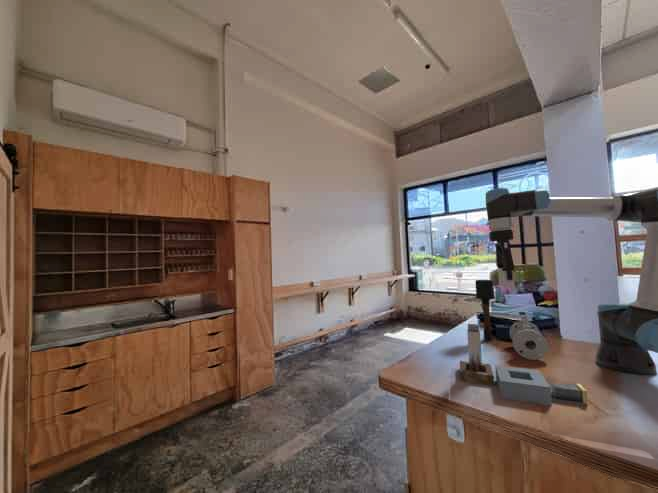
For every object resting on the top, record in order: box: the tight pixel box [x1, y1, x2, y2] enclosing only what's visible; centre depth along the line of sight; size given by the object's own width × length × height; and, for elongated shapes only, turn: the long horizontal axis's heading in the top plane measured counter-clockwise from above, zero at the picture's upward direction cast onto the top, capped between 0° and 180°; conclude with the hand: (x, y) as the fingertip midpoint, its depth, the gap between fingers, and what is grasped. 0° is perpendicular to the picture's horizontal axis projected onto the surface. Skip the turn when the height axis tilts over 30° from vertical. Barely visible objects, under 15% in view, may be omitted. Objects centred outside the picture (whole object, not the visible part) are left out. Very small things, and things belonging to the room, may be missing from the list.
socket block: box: [495, 365, 585, 407], centre depth 82 cm, size 20×12×6 cm, turn 65°
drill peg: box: [466, 323, 483, 372], centre depth 96 cm, size 4×4×18 cm
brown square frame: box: [459, 360, 495, 386], centre depth 95 cm, size 10×10×4 cm
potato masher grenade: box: [474, 279, 496, 342], centre depth 137 cm, size 8×9×30 cm
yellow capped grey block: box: [551, 382, 588, 406], centre depth 79 cm, size 7×4×4 cm, turn 65°
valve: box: [508, 311, 550, 361], centre depth 120 cm, size 22×12×15 cm, turn 151°
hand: (506, 287), depth 100 cm, fingers open, 13 cm apart
